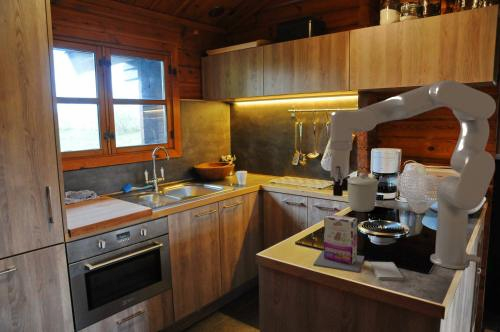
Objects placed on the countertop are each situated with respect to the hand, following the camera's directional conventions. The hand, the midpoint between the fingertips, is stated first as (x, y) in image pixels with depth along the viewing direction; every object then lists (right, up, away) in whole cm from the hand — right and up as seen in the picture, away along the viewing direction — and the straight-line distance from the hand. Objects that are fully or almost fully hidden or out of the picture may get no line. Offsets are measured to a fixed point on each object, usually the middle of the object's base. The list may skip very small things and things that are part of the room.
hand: (340, 192), depth 132 cm
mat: (+1, -26, +4) cm, 26 cm away
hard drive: (+14, -28, -6) cm, 32 cm away
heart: (+57, -16, +63) cm, 86 cm away
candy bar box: (+1, -25, +4) cm, 26 cm away
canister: (+30, -15, +73) cm, 80 cm away
